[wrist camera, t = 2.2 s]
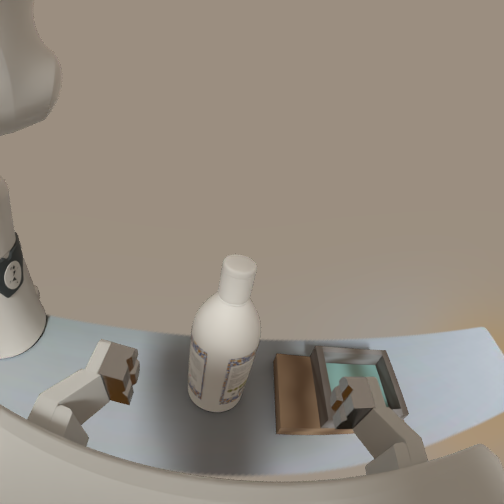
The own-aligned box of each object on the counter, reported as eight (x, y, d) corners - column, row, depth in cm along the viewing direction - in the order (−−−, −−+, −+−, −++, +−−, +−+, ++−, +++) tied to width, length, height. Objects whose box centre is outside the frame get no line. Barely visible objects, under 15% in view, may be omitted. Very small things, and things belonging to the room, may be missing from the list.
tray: (276, 433, 30) (286, 418, 28) (273, 361, 41) (281, 341, 38) (396, 428, 32) (414, 413, 29) (377, 368, 42) (390, 350, 40)
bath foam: (245, 378, 37) (284, 253, 27) (235, 420, 31) (276, 297, 21) (196, 364, 37) (212, 235, 28) (180, 404, 31) (186, 273, 22)
